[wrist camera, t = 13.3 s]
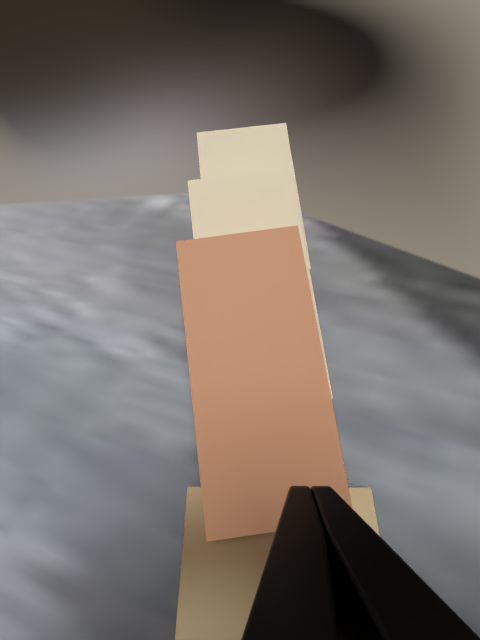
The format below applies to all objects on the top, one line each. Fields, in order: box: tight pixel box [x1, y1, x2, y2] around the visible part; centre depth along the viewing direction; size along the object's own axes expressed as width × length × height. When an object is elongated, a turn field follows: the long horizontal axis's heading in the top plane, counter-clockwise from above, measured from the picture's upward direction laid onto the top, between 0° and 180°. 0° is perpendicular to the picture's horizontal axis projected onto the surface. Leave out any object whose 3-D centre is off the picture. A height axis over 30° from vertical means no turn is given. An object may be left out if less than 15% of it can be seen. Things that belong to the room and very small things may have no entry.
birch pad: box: [175, 487, 380, 640], centre depth 13 cm, size 6×8×1 cm
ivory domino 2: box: [188, 168, 333, 399], centre depth 17 cm, size 2×6×12 cm
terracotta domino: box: [176, 225, 353, 542], centre depth 14 cm, size 2×6×12 cm
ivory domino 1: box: [197, 123, 307, 254], centre depth 20 cm, size 2×6×12 cm
